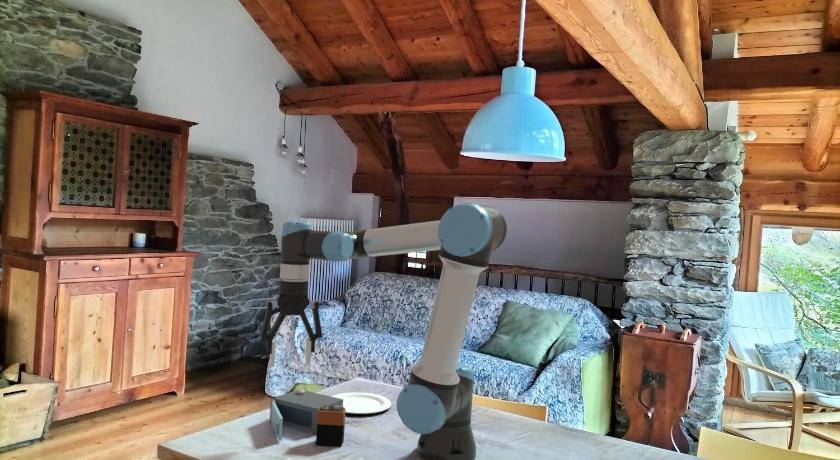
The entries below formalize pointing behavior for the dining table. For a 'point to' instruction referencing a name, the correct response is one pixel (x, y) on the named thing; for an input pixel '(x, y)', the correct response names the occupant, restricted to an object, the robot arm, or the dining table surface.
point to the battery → (330, 426)
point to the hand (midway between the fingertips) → (290, 364)
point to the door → (276, 420)
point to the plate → (363, 403)
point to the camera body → (303, 408)
